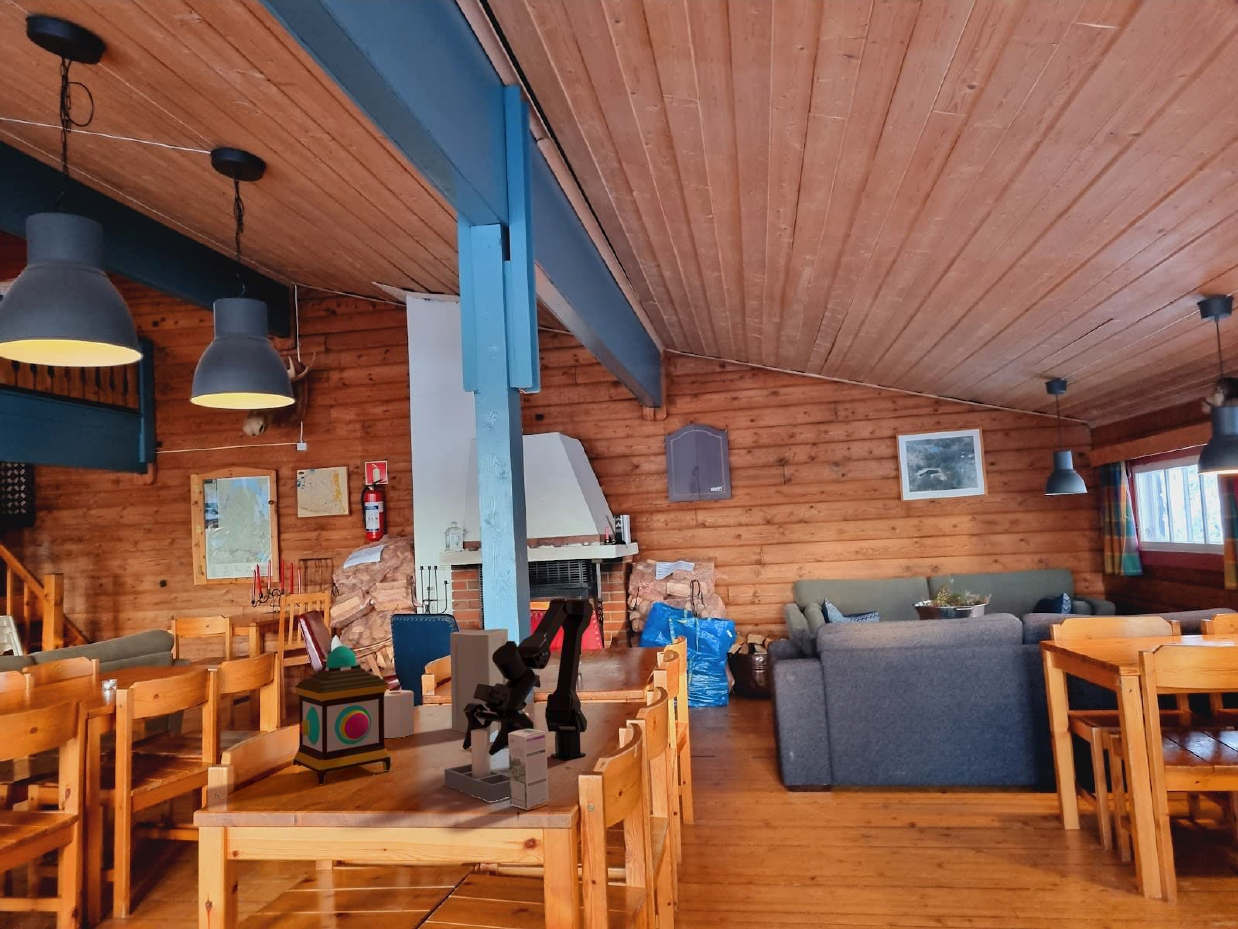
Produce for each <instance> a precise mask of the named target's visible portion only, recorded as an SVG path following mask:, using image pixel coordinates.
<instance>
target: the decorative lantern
mask: <svg viewBox="0 0 1238 929" xmlns="http://www.w3.org/2000/svg"><path fill="white" fill-rule="evenodd" d="M388 687H389V683H388V682H387V681H386V680H385V679H383V678H381V676H380V675H377V674H371V673H370V672H368V671H366V669H365V668H362V666H361V664H357V657H356V654H355V653H354V652H353V650H352V649H350V648H349V647H347V646H345V645H338V646H336V647H335V648H334V649H332V650H331V652H330V653H329V654H328V655H327V657H326V664H325V665H322V666H321V669H319V670H317V672H316V673H314V674H313V675H311V676H308V677H304V678H303V679H302V680H301V681H299V682H298V683H297V685H295V686H294V689H295V691H296V693H297V695H298V698H299V699H298V700H299V708H298V709H299V715H298V716H299V719H298V721H299V732H298V733H299V735H298V736H299V741H298V743H299V745H298V750H297V752H296V754H295V755H294V758H293V761H292V762H293V763H292V764H293V766H294V765H298V766H301V767H304V768H306V769H307V770H308V769H309V770H311V771H313V772H314V773H316V776H317V783H318V785H319V784H323V785H324V784H325V782H326V781H325V779H326V776H327V774H328V773H330V772H337V771H341V770H345V769H350V768H355V767H360V766H366V765H370V764H376V763H381V762H382V769H383V771H384V770H386V771H387V770H389V771H390V769H391V764H392V763H391V762H392V761H391V759H392V758H391V756H390V754H389V751H388V750H387V747H386V746H385V739H384V694H385V692H387V689H388Z"/></svg>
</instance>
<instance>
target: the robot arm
mask: <svg viewBox="0 0 1238 929" xmlns="http://www.w3.org/2000/svg"><path fill="white" fill-rule="evenodd" d="M593 615H594V606H593V604H592V603H591V601H589V599H587V598H565V597H562V598H553V599H551V600H549V603H548V608H547V610H546V611H545V613H544V615H543V616H542V618H541V619H540V621H539V623H538V624H537V626H536V628H535V630H533V633H532V634H531V635H529V636H527V637H525V638H523V639H522V641H521V642H520V643H519V644H518V645H517V643H516V641H515V640H508V641H506V644H505V645H503V646H501V647H499V648H498V649H497V650H496V651H495V652H494V653H493V656H492V660H493V662H494V664H495V665H496V667H497V668H498V669H499V671H500V672H501V674H502V675H503V677H504V678H505V679H508V681H507V682H506V684H505V685H503V684H499V683H496V684H495V686H490V685H485V684H477V687H476V690H475V693H474V696H473V698H474V699H479V700H482V701H484V702H486V703H485V706H486V707H487V708H489V709H490V710H489V711H488V710H487V709H486V708H485V707H484V706H483V705H482V704H478V703H468V704H467V705H466V707H465V708H464V710H463V712H464V713H465V716H466V717H467V719H468V728H467V732H466V733H465V736H464V740H463V743H462V748H463V750H465V751H467V750H468V749H469V748H471V731H472V730H475V729H487V727H488V726H490V725H491V723H492V722H493V721H494V722H500V723H501V729H500V731H499V733H498V732H497V735H496V737H494V738H495V739H494V740H493V741H492V744H491V745H490V750H489V754H490V757H491V756H494V755H496V754H497V753H499V752H500V751H502V750H503V749H505V748H507V747H509V743H508V733H511V732H514V731H517V730H522V729H533V730H535V729H534V723H535V722H534V721H533V720H532V719H531V718H530V717H528V716H527V715H526V714H525V713H526V712H525V710H524V711H523V710H519V709H520V707H523V708H524V709H525V708H526V707H527V705H528V703H527V702H526V699H527V697H528V696H529V695H530V693H531V691H532V690H533V688H534V687H535V688H538V689H540V688H541V685H542V684H541V680H540V678H541V677H540V675H538V674H536V673H535V672H534V670H544V669H545V668H546V667H547V666H548V663H549V661H550V658H551V656H552V651H551V645H552V642H554V639H555V638H556V636H557V634H558V632H559V631H560V629H562V631H563V636H562V644H561V650H560V652H561V653H560V659H559V668H558V675H557V680H556V688H555V690H554V691H553V692H552V693H549V694H548V695H547V698H546V700H547V701H546V707H545V709H544V710H545V712H544V717H545V721H546V728H547V731H548V732H550V733H551V732H553V733H554V748H555V750H554V751H555V753H551V754H550V757H552V758H556V759H560V760H563V761H568V760H571V759H572V760H573V759H577V758H581V757H585V756H586V753H585V752H582V750H581V748H582V747H581V733H585V732H586V730H587V729H588V720H587V718H586V716H585V715H584V713H583V712H582V710H581V708H582V707H581V706H582V703H581V700H580V697H579V696H578V692H577V685H578V677H579V676H578V675H579V669H580V668H579V666H580V659H581V658H580V657H581V650H582V642H583V634H585V632H586V630H587V629H588V628H589V627H590V625H591V621H592V616H593Z"/></svg>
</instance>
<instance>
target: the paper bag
mask: <svg viewBox="0 0 1238 929" xmlns="http://www.w3.org/2000/svg"><path fill="white" fill-rule="evenodd" d="M449 635H450V636H449V637H450V638H449V639H450V640H449V641H450V646H449V647H450V690H451V693H450V695H451V696H450V697H451V700H450V701H451V703H450V704H451V730H452V729H453V731H456V732H461V733H464V734H466V732H467V728H468V719H467V717H466V716H465V713H464V712H463V710H464V708H465V707H466V705H467V704H468V703H478V704H482V705H483V706H484V707H485V708H486V709H487V710H488V711H489V710H490V709H489V708H487V707H486V706H485V703H486V702H484V701H482V700H479V699H474V698H473V696H474V693H475V690H476V687H477V684H485V685H490V686H495V684H496V683H499V684H503V685H505V684H506V682H507V681H508V679H505V678H504V677H503V675H502V674H501V672H500V671H499V669H498V668H497V667H496V665H495V664H494V662H493V660H492V656H493V653H494V652H495V651H496V650H497V649H498V648H499V647H501V646H503V645H505V644H506V641H509V628H493V629H491V628H490V629H480V630H478V629H477V630H467V631H454V632H450V633H449ZM487 729H490V736H491V735H493V734H494V733H496V732H497V731H496V730H498V722H494V721H493V722H492V723H491V725H490V726H488V727H487ZM495 731H496V732H495ZM493 732H494V733H493ZM492 733H493V734H492Z"/></svg>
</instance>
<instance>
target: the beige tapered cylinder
mask: <svg viewBox="0 0 1238 929" xmlns="http://www.w3.org/2000/svg"><path fill="white" fill-rule="evenodd" d="M490 748H491V735H490V729H475V730H472V731H471V746H470V749H471V764H472V777H473V778H476V779H478V778H482V777H487V776H491V770H492V767H491V766H492V765H491V755H490V754H489V750H490Z"/></svg>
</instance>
